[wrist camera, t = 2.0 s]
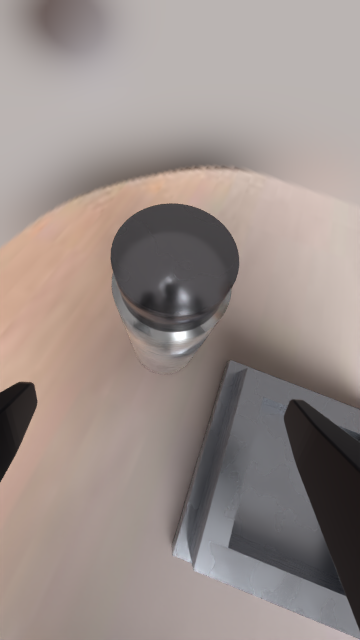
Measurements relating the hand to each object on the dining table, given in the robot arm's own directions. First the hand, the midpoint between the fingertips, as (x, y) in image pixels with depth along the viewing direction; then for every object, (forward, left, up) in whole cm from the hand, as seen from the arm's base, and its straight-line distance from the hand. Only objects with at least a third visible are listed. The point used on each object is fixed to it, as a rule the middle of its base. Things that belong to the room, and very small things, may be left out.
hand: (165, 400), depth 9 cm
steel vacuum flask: (+4, -3, -11) cm, 12 cm away
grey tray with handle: (-15, -11, -11) cm, 22 cm away
